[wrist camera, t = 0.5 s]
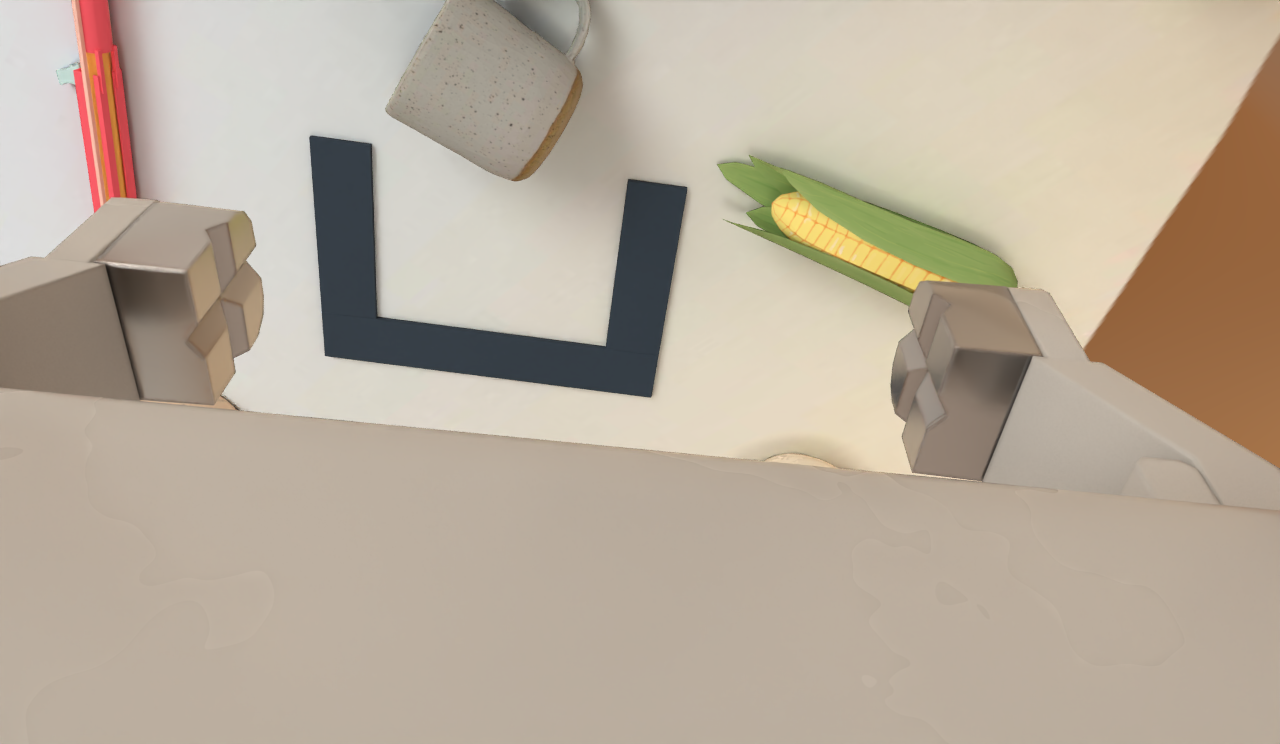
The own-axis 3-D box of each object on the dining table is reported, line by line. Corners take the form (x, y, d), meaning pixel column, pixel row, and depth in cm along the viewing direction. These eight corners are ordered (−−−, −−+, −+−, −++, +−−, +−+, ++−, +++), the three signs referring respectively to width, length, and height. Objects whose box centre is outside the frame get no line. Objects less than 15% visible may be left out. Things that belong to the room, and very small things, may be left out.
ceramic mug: (528, 158, 57) (510, 217, 50) (401, 79, 54) (366, 130, 48) (630, 2, 52) (625, 46, 45) (495, -93, 49) (469, -62, 43)
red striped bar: (100, 237, 62) (161, 261, 61) (73, 250, 60) (136, 276, 59) (38, -190, 48) (117, -166, 47) (1, -188, 46) (81, -163, 45)
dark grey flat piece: (310, 135, 56) (309, 137, 56) (687, 186, 57) (687, 189, 57) (326, 353, 66) (324, 356, 65) (651, 395, 66) (651, 397, 66)
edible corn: (980, 320, 62) (999, 361, 58) (696, 198, 58) (697, 234, 54) (1031, 255, 59) (1054, 294, 56) (736, 122, 55) (740, 155, 51)
